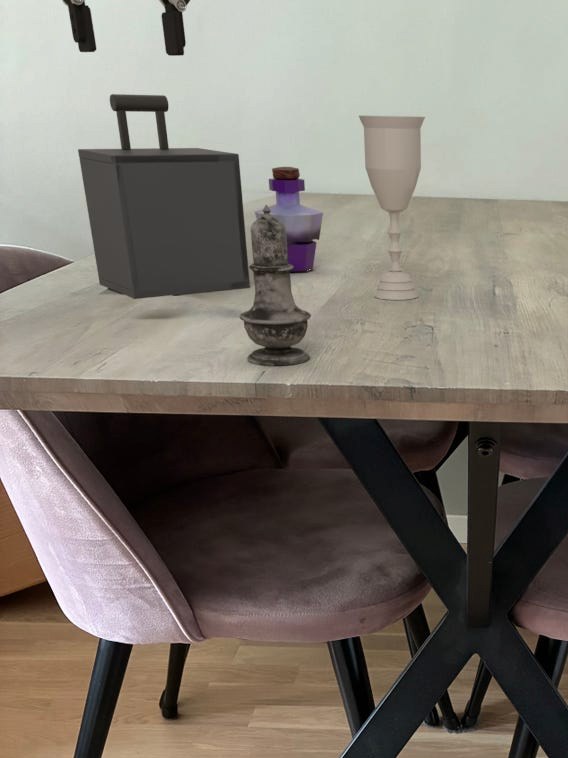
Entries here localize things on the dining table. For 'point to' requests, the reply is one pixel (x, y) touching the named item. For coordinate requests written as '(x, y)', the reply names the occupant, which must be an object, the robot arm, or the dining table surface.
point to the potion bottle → (294, 218)
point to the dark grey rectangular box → (164, 212)
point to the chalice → (393, 185)
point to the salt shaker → (273, 298)
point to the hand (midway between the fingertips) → (132, 53)
